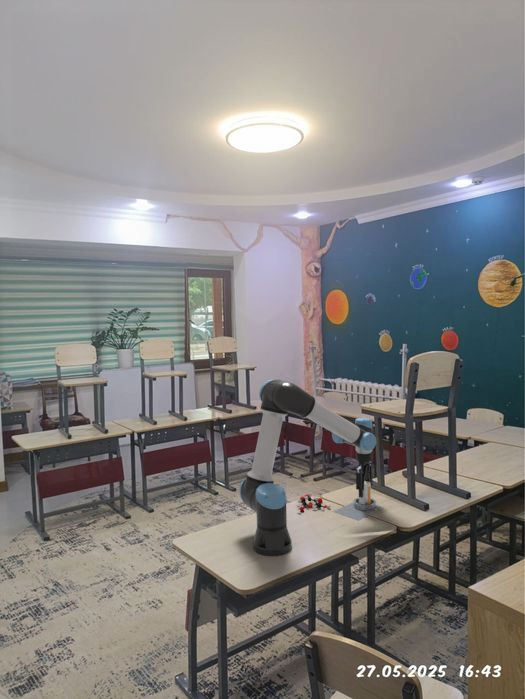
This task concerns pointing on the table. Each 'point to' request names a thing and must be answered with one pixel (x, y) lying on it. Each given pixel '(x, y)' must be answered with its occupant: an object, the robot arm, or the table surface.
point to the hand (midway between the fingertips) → (364, 501)
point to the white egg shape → (367, 492)
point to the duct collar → (364, 507)
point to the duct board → (356, 512)
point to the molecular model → (308, 496)
